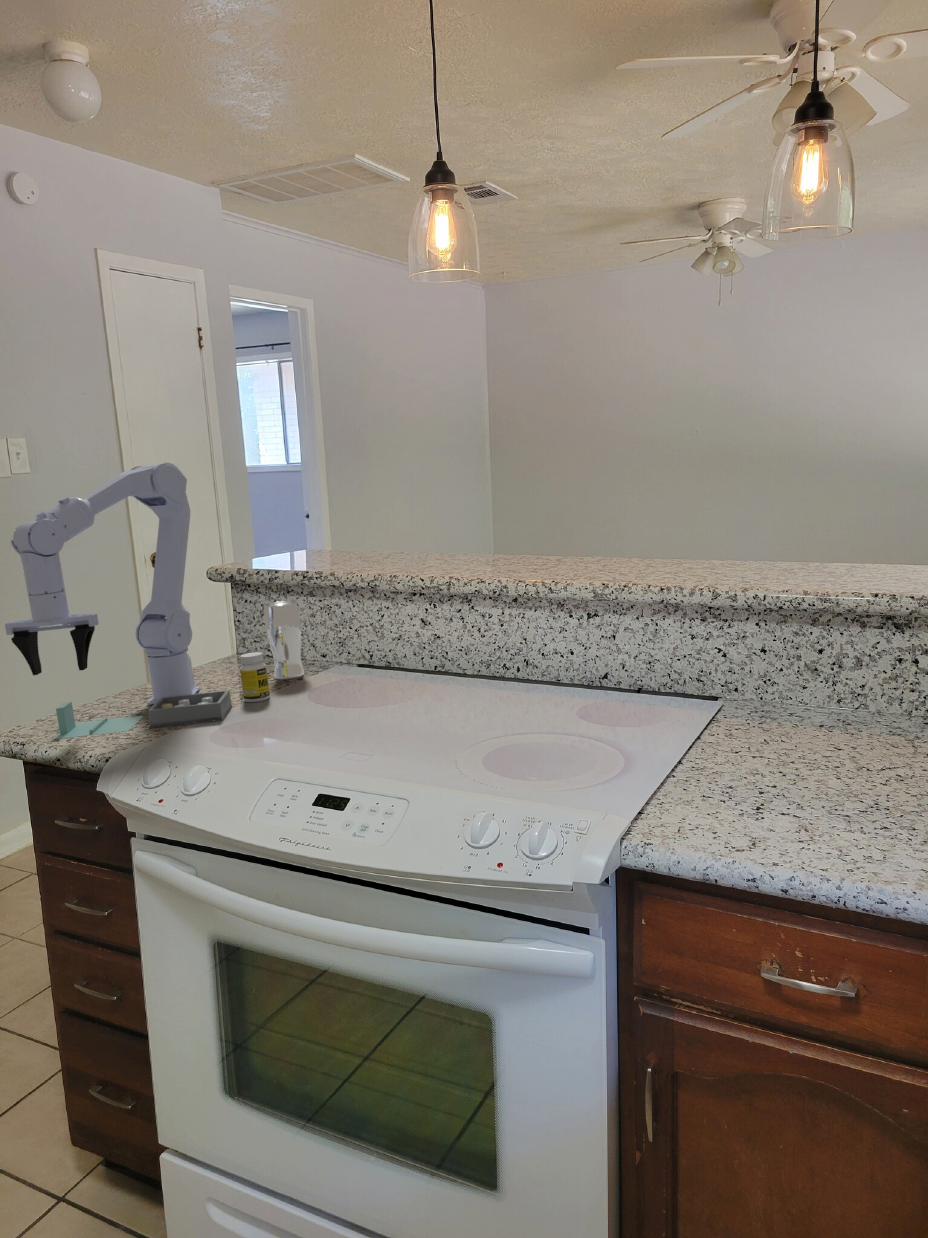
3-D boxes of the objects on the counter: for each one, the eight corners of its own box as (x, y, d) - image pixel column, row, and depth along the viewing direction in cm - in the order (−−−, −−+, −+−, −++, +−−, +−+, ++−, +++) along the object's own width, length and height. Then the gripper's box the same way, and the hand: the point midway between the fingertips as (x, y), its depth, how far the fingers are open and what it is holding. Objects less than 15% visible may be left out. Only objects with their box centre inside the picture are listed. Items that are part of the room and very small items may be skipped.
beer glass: (296, 670, 184) (287, 599, 181) (313, 674, 178) (304, 601, 176) (266, 677, 179) (256, 604, 177) (282, 682, 174) (272, 607, 172)
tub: (163, 713, 157) (161, 697, 157) (231, 706, 158) (229, 690, 158) (150, 727, 149) (147, 710, 148) (222, 720, 149) (219, 703, 149)
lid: (71, 726, 157) (67, 698, 156) (144, 718, 158) (139, 691, 157) (51, 742, 147) (46, 713, 146) (128, 733, 148) (123, 705, 147)
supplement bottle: (263, 702, 159) (257, 656, 158) (239, 703, 160) (233, 658, 159) (274, 695, 164) (268, 651, 162) (250, 696, 165) (245, 652, 163)
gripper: (-9, 600, 144) (6, 681, 146) (82, 591, 145) (96, 672, 147) (10, 594, 151) (24, 672, 153) (96, 586, 151) (109, 663, 154)
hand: (60, 671), depth 150 cm, fingers open, 7 cm apart
